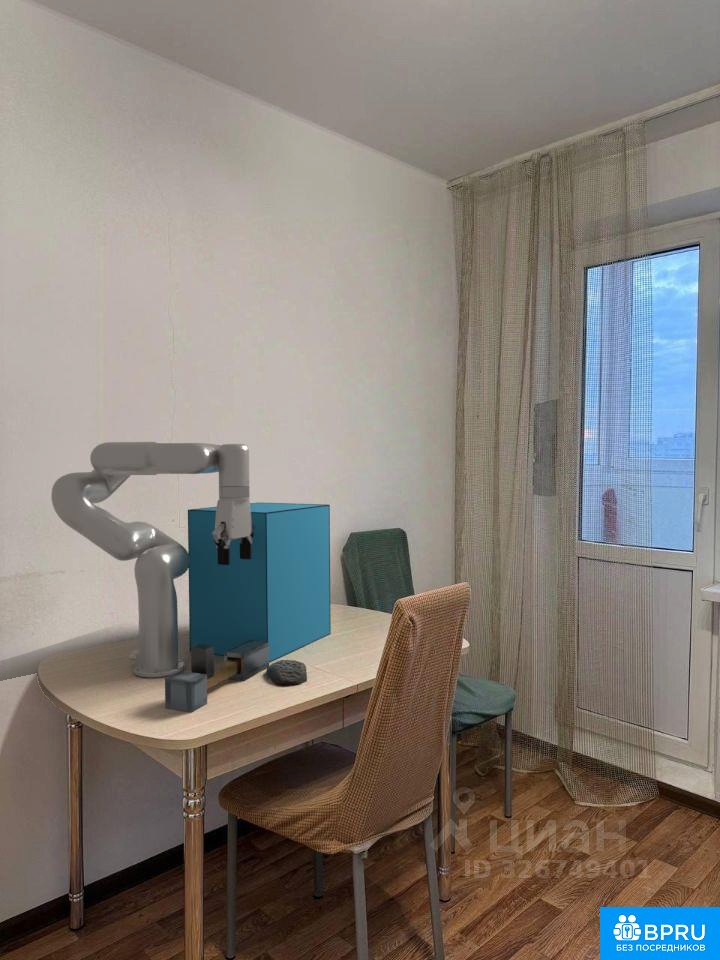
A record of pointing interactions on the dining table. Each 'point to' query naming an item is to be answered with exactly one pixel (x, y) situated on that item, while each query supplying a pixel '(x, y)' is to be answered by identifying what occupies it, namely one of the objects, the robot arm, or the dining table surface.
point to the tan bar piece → (212, 664)
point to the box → (262, 580)
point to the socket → (186, 691)
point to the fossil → (287, 673)
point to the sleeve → (249, 658)
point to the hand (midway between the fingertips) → (235, 561)
